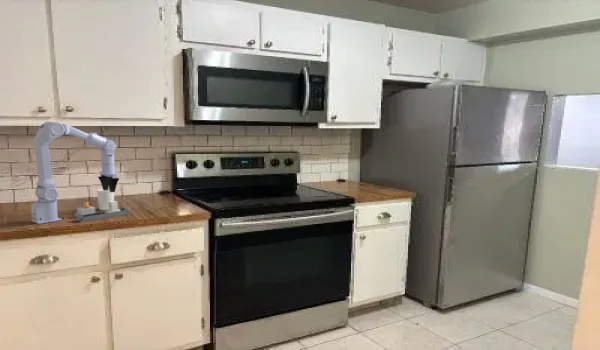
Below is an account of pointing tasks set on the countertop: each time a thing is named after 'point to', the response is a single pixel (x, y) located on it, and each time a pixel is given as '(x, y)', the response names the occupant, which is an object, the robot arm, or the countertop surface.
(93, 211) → the white hollow block
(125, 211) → the rail
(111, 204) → the carriage
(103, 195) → the white cup
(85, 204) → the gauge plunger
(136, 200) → the countertop surface
